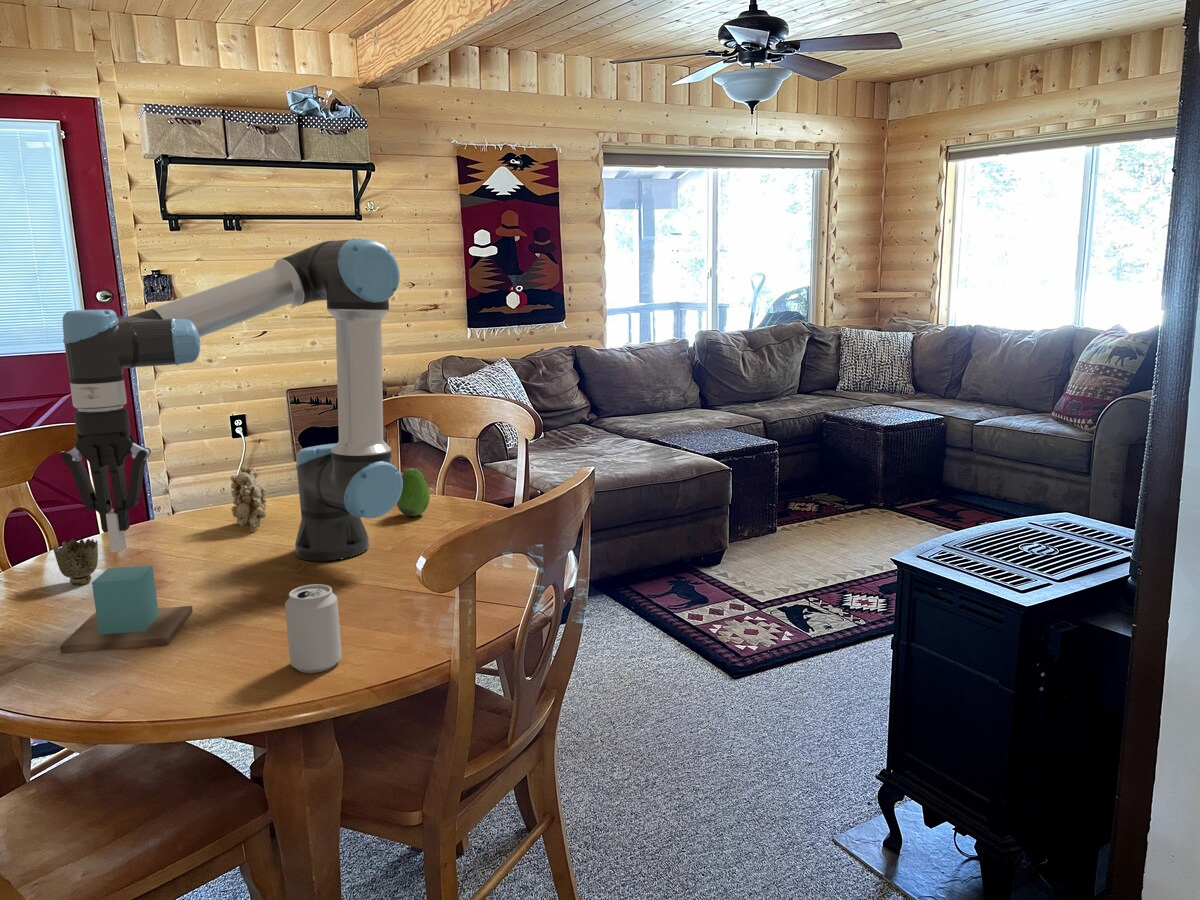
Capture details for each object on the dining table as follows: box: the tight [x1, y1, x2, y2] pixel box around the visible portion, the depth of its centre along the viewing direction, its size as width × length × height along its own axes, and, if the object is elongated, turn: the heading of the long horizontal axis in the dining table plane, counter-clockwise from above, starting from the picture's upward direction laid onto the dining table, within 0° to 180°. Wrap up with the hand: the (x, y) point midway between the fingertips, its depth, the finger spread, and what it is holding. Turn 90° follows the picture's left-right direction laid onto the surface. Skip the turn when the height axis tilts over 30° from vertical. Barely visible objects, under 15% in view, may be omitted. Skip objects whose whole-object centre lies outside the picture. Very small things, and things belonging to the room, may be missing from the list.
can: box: [284, 583, 342, 674], centre depth 133 cm, size 8×8×12 cm
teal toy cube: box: [91, 565, 159, 635], centre depth 146 cm, size 7×7×9 cm
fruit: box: [396, 467, 431, 517], centre depth 213 cm, size 8×8×12 cm
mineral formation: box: [230, 465, 267, 533], centre depth 205 cm, size 8×13×15 cm, turn 31°
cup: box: [52, 538, 99, 586], centre depth 170 cm, size 8×7×8 cm
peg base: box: [59, 605, 194, 654], centre depth 146 cm, size 16×14×7 cm
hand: (118, 549), depth 144 cm, fingers closed
